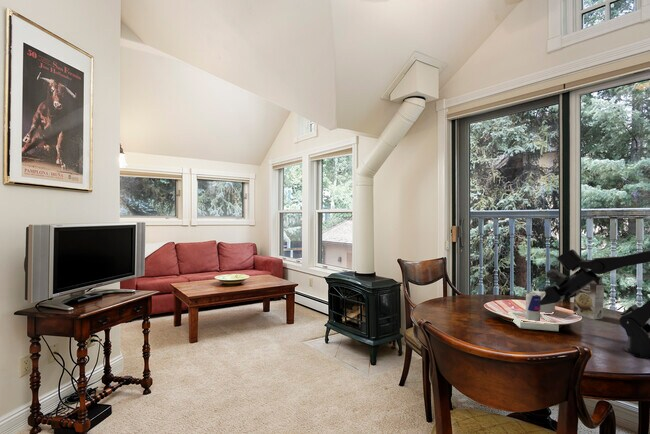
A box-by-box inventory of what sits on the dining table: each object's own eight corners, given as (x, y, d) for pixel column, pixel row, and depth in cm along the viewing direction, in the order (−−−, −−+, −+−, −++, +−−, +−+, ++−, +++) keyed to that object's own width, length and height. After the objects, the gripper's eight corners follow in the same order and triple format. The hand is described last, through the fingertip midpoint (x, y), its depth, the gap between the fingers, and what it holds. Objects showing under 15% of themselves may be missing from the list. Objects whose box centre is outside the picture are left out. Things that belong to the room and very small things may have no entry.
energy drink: (539, 325, 137) (540, 296, 136) (524, 322, 140) (525, 294, 140) (540, 322, 141) (541, 294, 140) (526, 319, 144) (527, 291, 144)
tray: (558, 331, 132) (558, 325, 132) (520, 328, 135) (520, 322, 135) (542, 319, 146) (543, 314, 146) (508, 316, 149) (508, 311, 149)
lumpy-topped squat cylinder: (552, 308, 163) (552, 291, 162) (557, 316, 151) (558, 297, 151) (527, 305, 167) (527, 288, 167) (530, 313, 155) (531, 294, 155)
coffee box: (572, 313, 156) (573, 279, 155) (581, 312, 158) (583, 278, 157) (594, 319, 147) (595, 283, 147) (603, 318, 149) (605, 282, 149)
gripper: (571, 261, 137) (541, 283, 146) (550, 265, 126) (519, 288, 136) (594, 284, 130) (561, 305, 140) (574, 290, 120) (540, 312, 129)
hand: (545, 302), depth 136 cm, fingers open, 9 cm apart
